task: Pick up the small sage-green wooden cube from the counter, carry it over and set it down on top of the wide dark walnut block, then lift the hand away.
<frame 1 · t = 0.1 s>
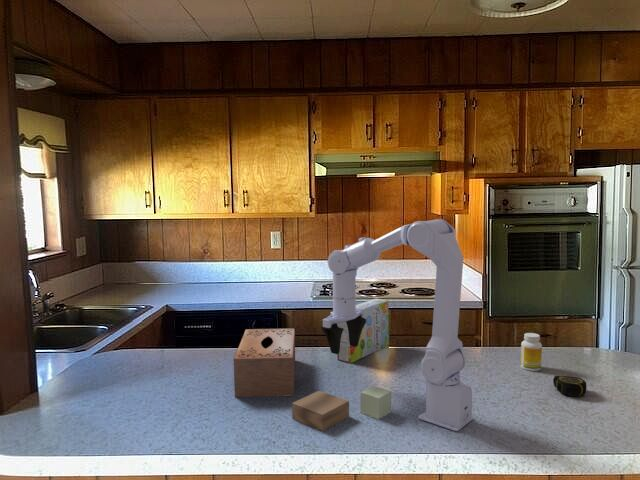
hand: (344, 349, 130), 10 cm above the countertop, fingers open, 7 cm apart
snack box: (363, 353, 158), on the countertop
tape measure: (568, 393, 127), on the countertop
walnut block: (320, 419, 114), on the countertop
sage cube: (375, 412, 116), on the countertop
supplement bottle: (530, 368, 143), on the countertop
tissue box cover: (267, 378, 139), on the countertop
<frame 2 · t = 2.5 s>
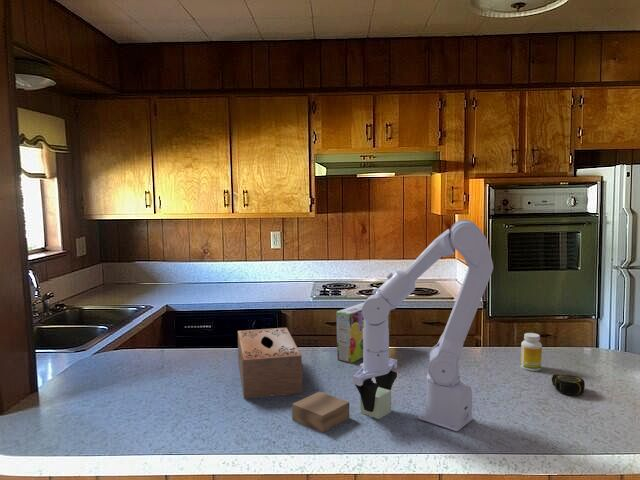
hand: (375, 406, 116), 1 cm above the countertop, fingers closed on sage cube, 5 cm apart
sage cube: (375, 412, 116), on the countertop, touching gripper
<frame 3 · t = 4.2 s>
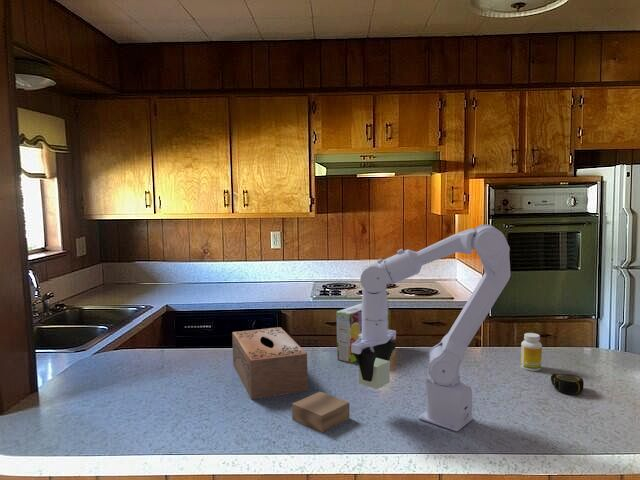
hand: (374, 376, 115), 8 cm above the countertop, fingers closed on sage cube, 5 cm apart
sage cube: (374, 382, 116), point 7 cm above the countertop, touching gripper
when the fingers open (6 cm above the countertop, at t = 6.4 s): sage cube drops 1 cm, resting on walnut block.
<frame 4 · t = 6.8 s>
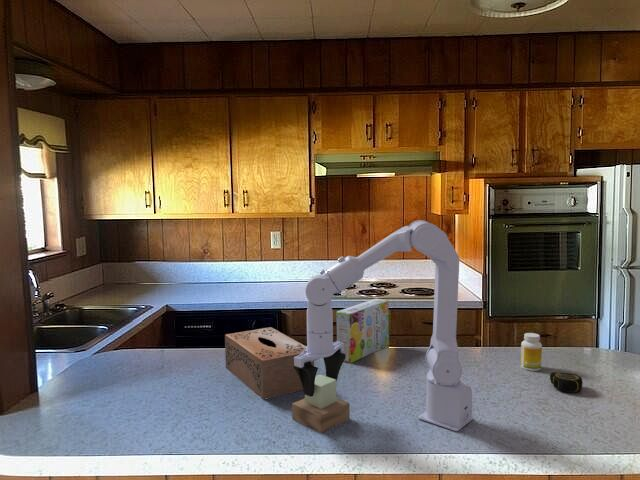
hand: (320, 389, 113), 6 cm above the countertop, fingers open, 7 cm apart
walnut block: (320, 420, 113), on the countertop, touching sage cube
sage cube: (320, 401, 114), point 4 cm above the countertop, touching walnut block
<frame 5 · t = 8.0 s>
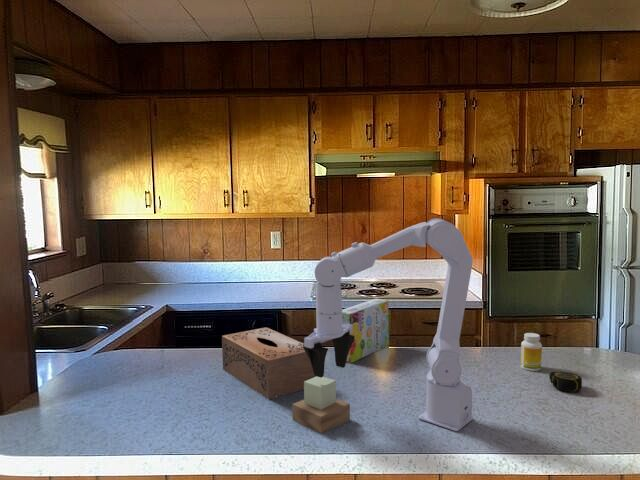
hand: (329, 371, 114), 10 cm above the countertop, fingers open, 7 cm apart
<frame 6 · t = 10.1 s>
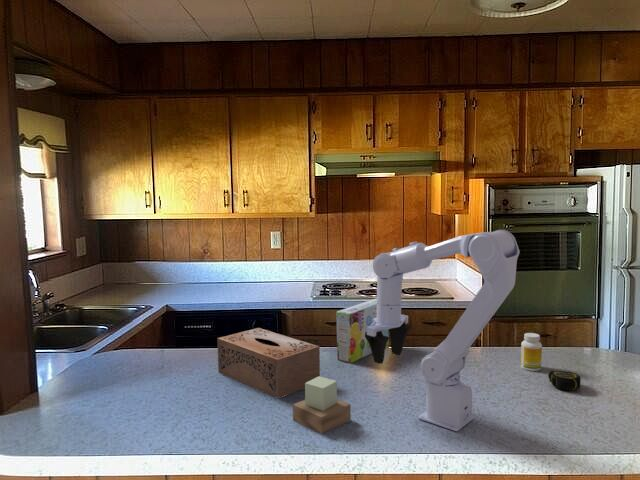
hand: (387, 358, 121), 10 cm above the countertop, fingers open, 7 cm apart
at the end: sage cube 0.4 cm off-centre on the walnut block, point 4.0 cm above the walnut block's base; sage cube tilted 0°; the gripper is holding nothing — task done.
